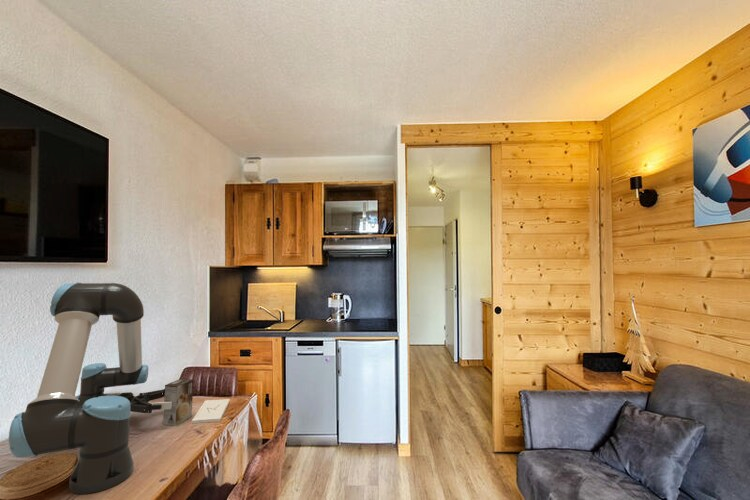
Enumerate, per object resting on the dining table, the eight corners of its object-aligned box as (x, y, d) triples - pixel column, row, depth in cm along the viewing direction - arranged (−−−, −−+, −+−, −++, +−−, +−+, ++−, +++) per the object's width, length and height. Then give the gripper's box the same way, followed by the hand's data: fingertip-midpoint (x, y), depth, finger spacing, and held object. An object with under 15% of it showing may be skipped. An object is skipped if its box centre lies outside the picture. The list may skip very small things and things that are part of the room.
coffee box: (179, 415, 145) (181, 377, 146) (192, 417, 144) (194, 379, 145) (162, 424, 136) (164, 384, 137) (175, 426, 135) (177, 386, 136)
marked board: (220, 421, 140) (220, 418, 140) (191, 423, 138) (191, 420, 138) (229, 401, 162) (229, 398, 162) (205, 403, 159) (205, 400, 159)
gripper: (132, 400, 148) (185, 397, 153) (101, 426, 123) (165, 421, 129) (133, 383, 148) (186, 380, 153) (103, 405, 124) (166, 401, 129)
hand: (176, 399), depth 141 cm, fingers open, 13 cm apart
